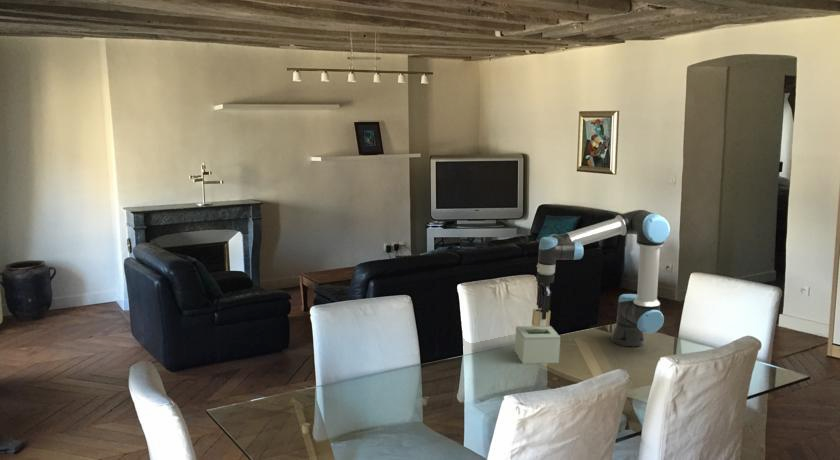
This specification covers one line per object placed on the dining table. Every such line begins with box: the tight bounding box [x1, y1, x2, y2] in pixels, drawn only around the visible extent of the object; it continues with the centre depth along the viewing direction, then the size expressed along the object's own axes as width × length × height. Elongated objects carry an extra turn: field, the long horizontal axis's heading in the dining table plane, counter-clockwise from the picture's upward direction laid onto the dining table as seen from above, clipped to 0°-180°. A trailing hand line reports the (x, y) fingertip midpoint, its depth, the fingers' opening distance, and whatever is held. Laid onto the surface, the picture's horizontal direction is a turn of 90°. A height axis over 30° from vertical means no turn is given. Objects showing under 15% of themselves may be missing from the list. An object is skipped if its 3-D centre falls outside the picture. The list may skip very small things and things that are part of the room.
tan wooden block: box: [531, 308, 552, 327], centre depth 316 cm, size 7×3×7 cm, turn 98°
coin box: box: [514, 325, 561, 365], centre depth 318 cm, size 16×14×12 cm
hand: (541, 324), depth 316 cm, fingers closed on tan wooden block, 3 cm apart
